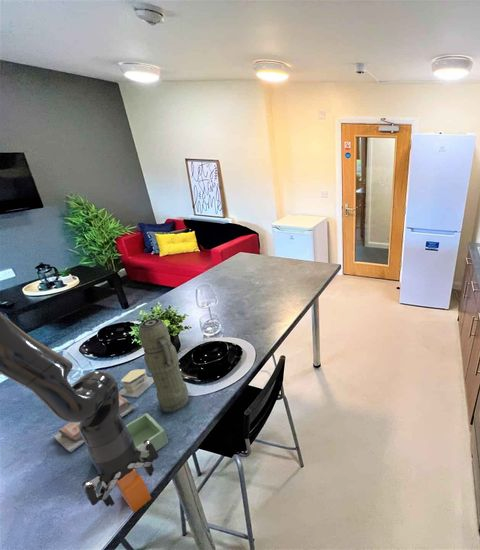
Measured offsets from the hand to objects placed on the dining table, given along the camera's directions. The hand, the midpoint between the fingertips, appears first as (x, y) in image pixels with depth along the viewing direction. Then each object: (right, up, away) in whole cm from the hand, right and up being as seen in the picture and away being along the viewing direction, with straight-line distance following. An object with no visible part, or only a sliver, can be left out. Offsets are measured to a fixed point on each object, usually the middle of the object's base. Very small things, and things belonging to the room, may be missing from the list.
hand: (131, 487), depth 76 cm
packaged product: (-29, +6, +21) cm, 36 cm away
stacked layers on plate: (-28, +12, +37) cm, 48 cm away
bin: (-11, +1, +13) cm, 17 cm away
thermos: (-9, +9, +31) cm, 33 cm away
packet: (0, -4, +2) cm, 5 cm away
